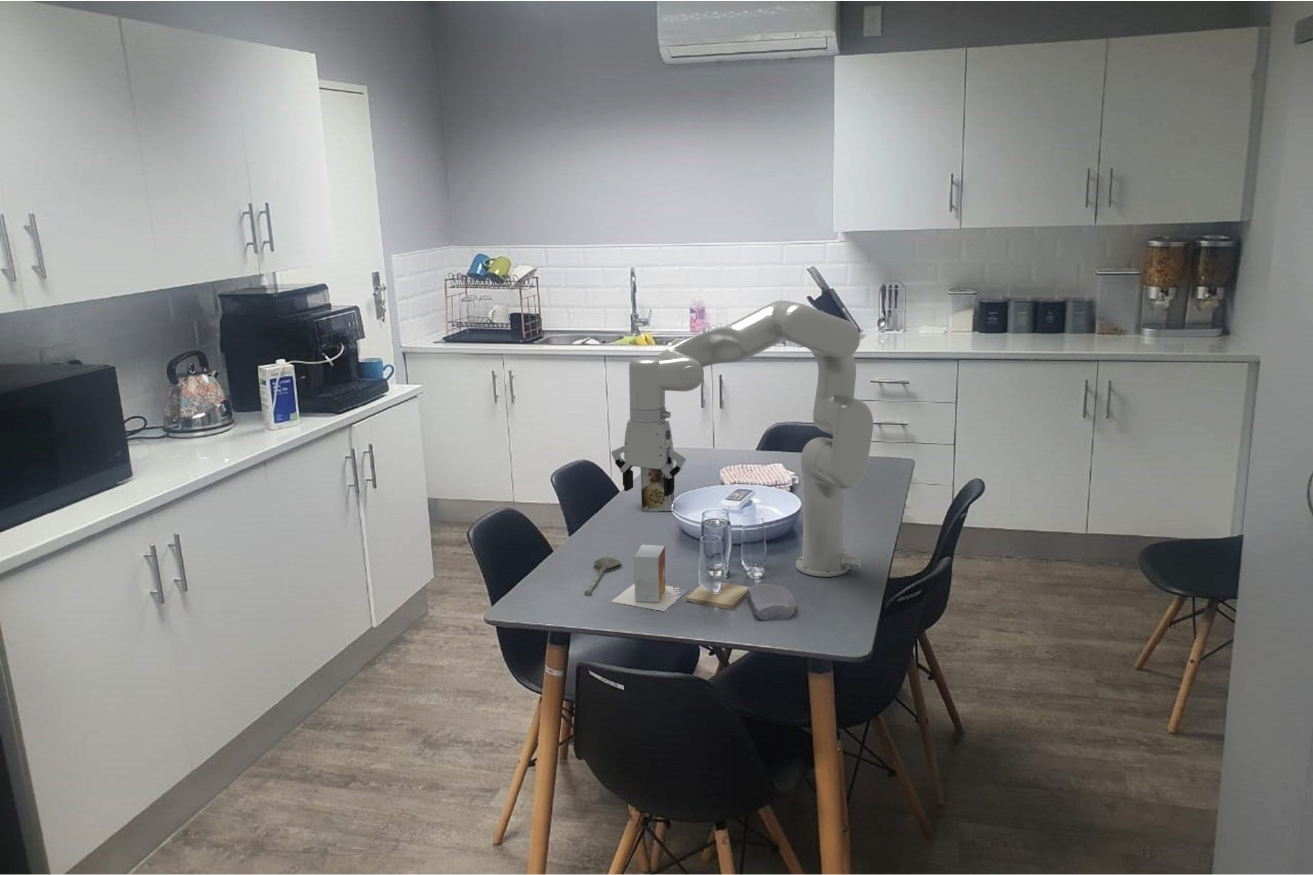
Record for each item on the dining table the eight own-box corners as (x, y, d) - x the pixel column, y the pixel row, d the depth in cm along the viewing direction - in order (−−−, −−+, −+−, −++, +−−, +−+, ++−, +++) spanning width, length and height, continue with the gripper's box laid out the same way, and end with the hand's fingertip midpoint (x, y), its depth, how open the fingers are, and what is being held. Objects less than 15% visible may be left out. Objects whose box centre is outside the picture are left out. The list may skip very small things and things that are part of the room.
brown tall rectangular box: (674, 505, 284) (674, 451, 280) (673, 512, 278) (672, 457, 274) (643, 504, 285) (642, 450, 281) (640, 511, 279) (639, 456, 275)
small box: (659, 603, 215) (658, 557, 213) (634, 601, 216) (633, 556, 214) (666, 589, 223) (665, 545, 220) (642, 587, 224) (641, 543, 222)
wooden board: (750, 591, 221) (750, 587, 221) (732, 609, 212) (732, 605, 212) (705, 584, 226) (705, 579, 226) (686, 601, 217) (686, 597, 216)
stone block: (786, 605, 219) (742, 599, 217) (791, 585, 218) (747, 579, 216) (798, 629, 207) (752, 623, 206) (803, 608, 206) (757, 602, 205)
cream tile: (689, 590, 223) (689, 589, 223) (664, 612, 211) (664, 611, 211) (637, 581, 228) (637, 580, 228) (611, 602, 217) (611, 601, 217)
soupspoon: (624, 566, 241) (598, 565, 243) (624, 552, 241) (598, 552, 242) (601, 597, 220) (573, 597, 222) (600, 583, 220) (572, 582, 221)
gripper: (691, 415, 210) (691, 492, 214) (619, 408, 217) (621, 483, 221) (677, 422, 203) (677, 501, 207) (603, 415, 210) (605, 492, 214)
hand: (648, 492), depth 214 cm, fingers open, 9 cm apart
